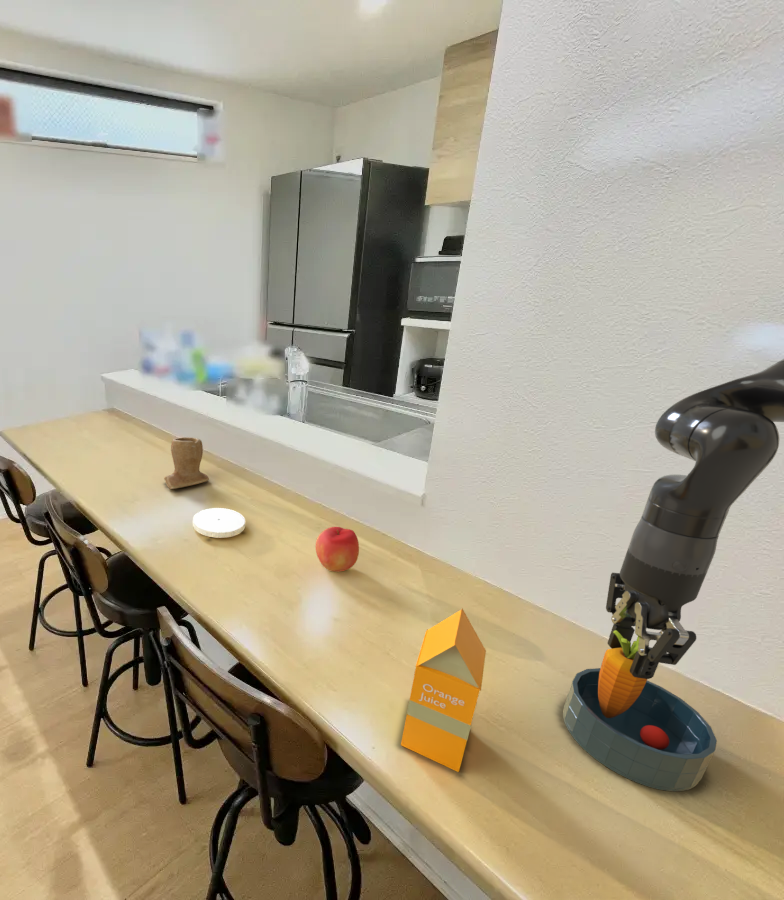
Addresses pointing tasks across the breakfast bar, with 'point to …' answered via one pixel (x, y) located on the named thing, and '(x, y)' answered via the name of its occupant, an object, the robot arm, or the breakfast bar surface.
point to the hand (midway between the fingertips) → (627, 660)
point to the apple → (337, 548)
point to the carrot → (618, 679)
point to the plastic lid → (218, 522)
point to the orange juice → (445, 691)
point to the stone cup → (186, 463)
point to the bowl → (622, 741)
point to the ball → (654, 737)
